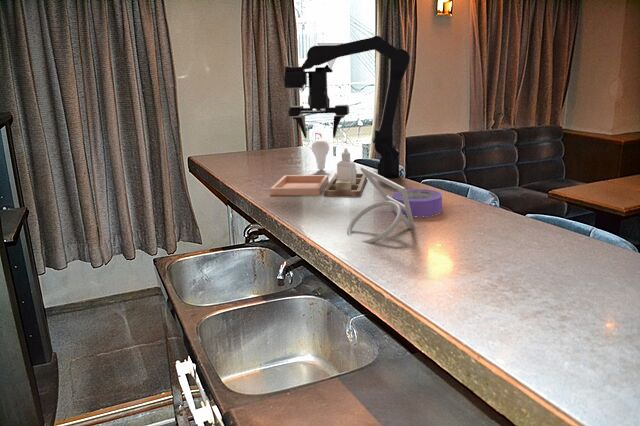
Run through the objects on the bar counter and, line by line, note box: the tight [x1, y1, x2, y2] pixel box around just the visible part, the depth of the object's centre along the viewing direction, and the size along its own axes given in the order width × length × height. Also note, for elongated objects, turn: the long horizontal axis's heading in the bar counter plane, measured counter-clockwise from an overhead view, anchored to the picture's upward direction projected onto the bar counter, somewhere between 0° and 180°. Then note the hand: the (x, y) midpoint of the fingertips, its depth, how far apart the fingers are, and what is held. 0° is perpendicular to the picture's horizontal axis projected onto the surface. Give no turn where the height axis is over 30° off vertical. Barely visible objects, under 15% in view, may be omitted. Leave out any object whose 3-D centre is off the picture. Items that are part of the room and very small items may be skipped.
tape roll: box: [391, 188, 443, 218], centre depth 127 cm, size 12×12×5 cm
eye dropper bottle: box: [336, 148, 357, 185], centre depth 154 cm, size 4×6×12 cm
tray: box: [269, 174, 330, 196], centre depth 156 cm, size 14×18×2 cm
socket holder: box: [323, 172, 368, 197], centre depth 156 cm, size 10×24×2 cm, turn 171°
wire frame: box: [346, 166, 416, 244], centre depth 109 cm, size 18×13×16 cm
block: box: [335, 180, 351, 190], centre depth 148 cm, size 4×4×4 cm
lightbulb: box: [311, 138, 330, 171], centre depth 182 cm, size 6×6×11 cm
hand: (319, 137), depth 168 cm, fingers open, 9 cm apart
